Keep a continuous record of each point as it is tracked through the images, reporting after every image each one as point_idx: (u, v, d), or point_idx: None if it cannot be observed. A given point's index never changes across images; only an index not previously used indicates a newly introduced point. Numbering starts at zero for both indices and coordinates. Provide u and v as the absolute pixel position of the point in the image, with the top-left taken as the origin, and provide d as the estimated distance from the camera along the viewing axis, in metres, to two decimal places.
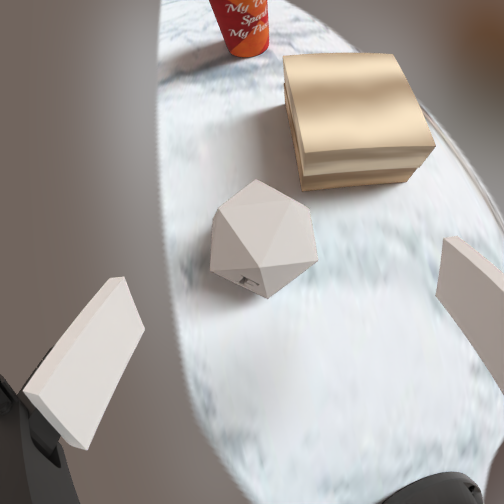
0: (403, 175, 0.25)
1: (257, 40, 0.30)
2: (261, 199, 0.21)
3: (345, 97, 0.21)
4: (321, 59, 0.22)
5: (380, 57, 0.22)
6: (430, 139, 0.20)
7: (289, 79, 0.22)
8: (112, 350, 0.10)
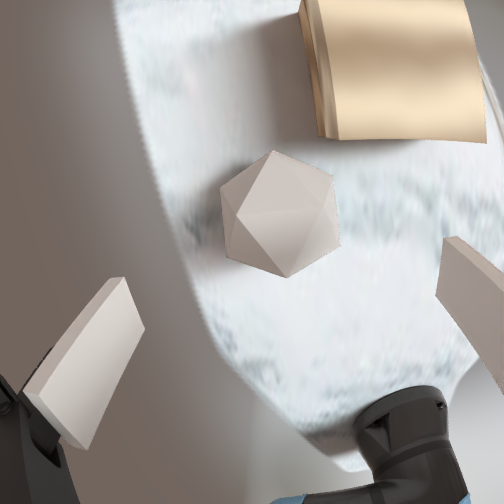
0: None
1: None
2: (286, 201, 0.17)
3: (397, 58, 0.13)
4: None
5: None
6: (483, 134, 0.14)
7: (322, 15, 0.12)
8: (112, 350, 0.10)
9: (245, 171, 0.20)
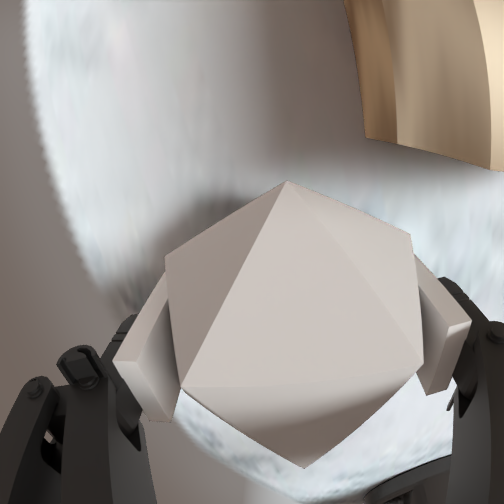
0: None
1: None
2: (326, 353, 0.06)
3: None
4: None
5: None
6: None
7: None
8: None
9: (215, 231, 0.08)
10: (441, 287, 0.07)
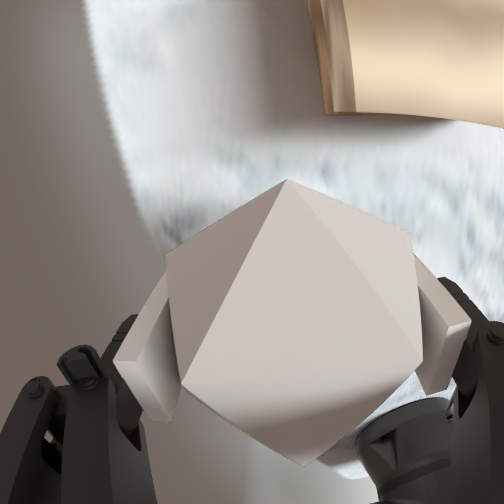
0: None
1: None
2: (326, 351, 0.06)
3: (433, 14, 0.08)
4: None
5: None
6: None
7: None
8: None
9: (215, 230, 0.08)
10: (441, 287, 0.07)
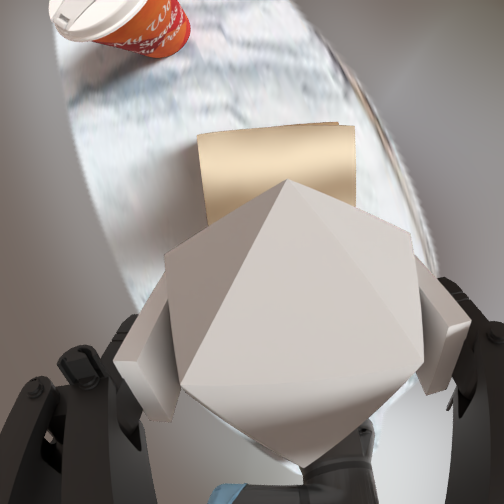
0: None
1: (170, 46, 0.21)
2: (327, 351, 0.06)
3: None
4: (246, 142, 0.20)
5: (333, 134, 0.19)
6: None
7: (203, 180, 0.21)
8: None
9: (215, 230, 0.08)
10: (441, 287, 0.07)
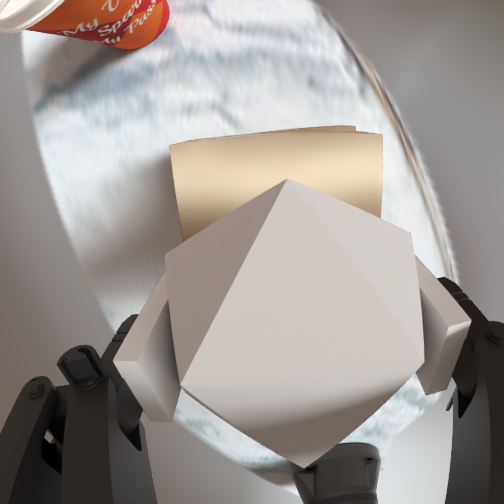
0: None
1: (141, 33, 0.15)
2: (327, 351, 0.05)
3: None
4: (236, 155, 0.15)
5: (354, 145, 0.14)
6: None
7: (179, 205, 0.16)
8: None
9: (215, 229, 0.08)
10: (440, 287, 0.07)
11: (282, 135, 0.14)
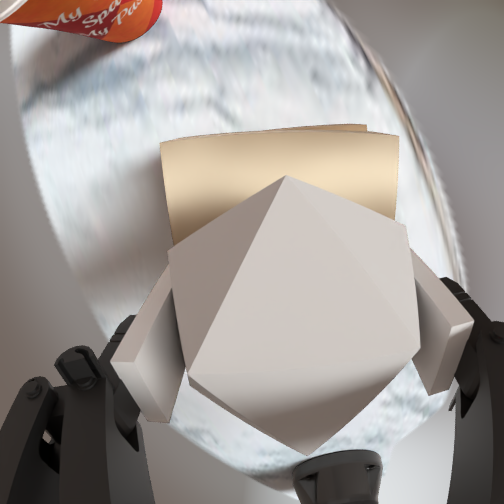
0: None
1: (131, 25, 0.14)
2: (327, 338, 0.06)
3: None
4: (235, 155, 0.13)
5: (368, 148, 0.12)
6: None
7: (169, 210, 0.14)
8: None
9: (217, 225, 0.08)
10: (443, 287, 0.07)
11: (287, 133, 0.12)
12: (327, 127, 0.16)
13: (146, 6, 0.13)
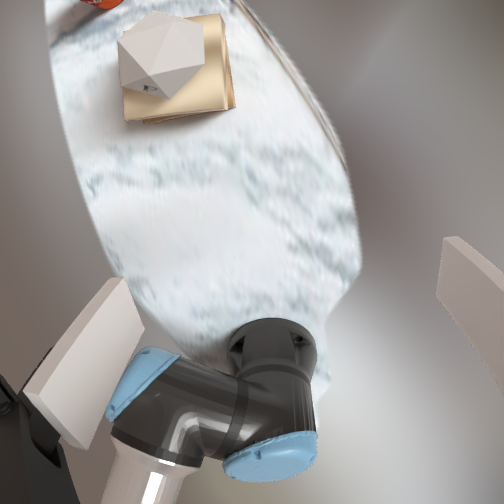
0: None
1: None
2: (150, 26, 0.18)
3: None
4: None
5: (204, 20, 0.24)
6: (219, 102, 0.28)
7: None
8: (112, 350, 0.10)
9: None
10: None
11: None
12: None
13: None
